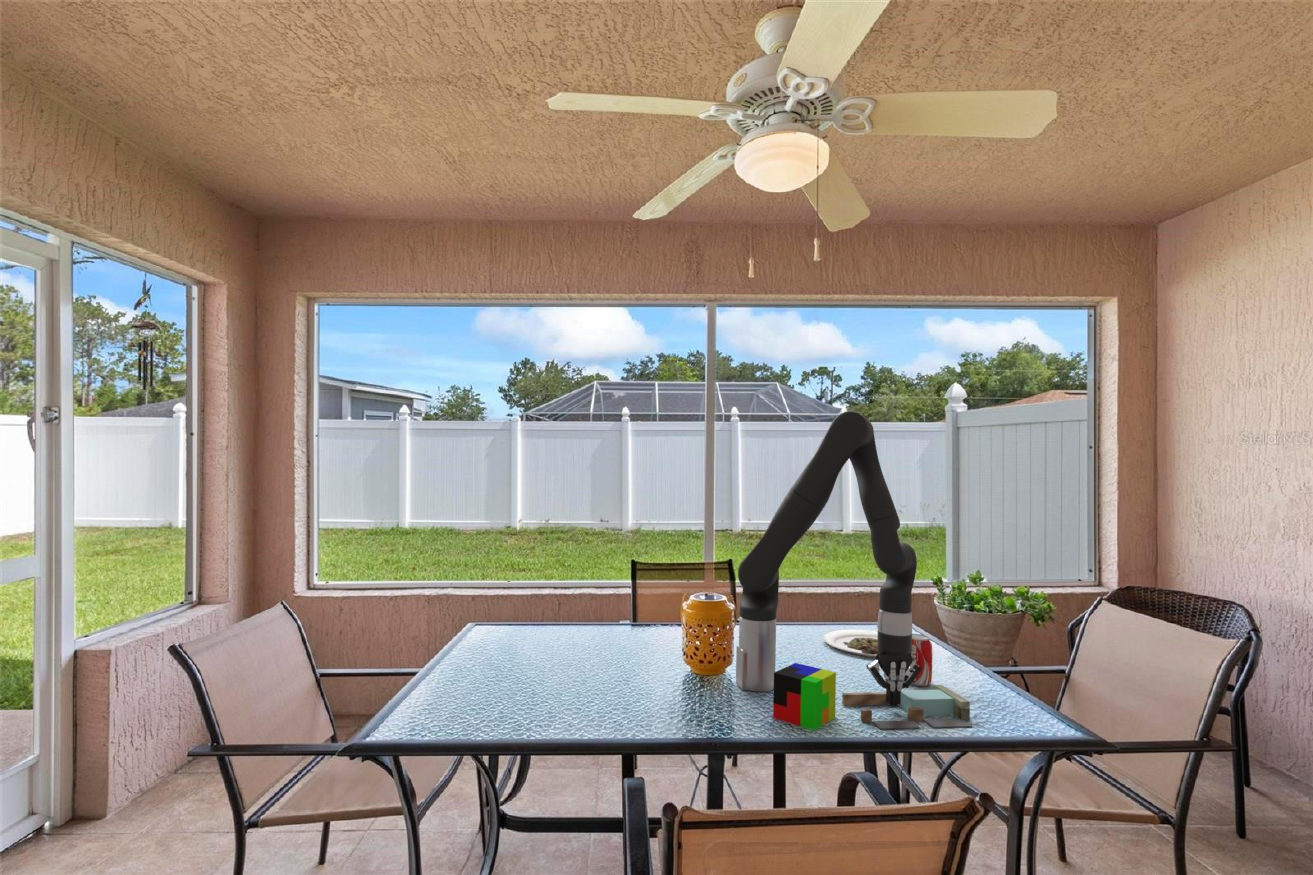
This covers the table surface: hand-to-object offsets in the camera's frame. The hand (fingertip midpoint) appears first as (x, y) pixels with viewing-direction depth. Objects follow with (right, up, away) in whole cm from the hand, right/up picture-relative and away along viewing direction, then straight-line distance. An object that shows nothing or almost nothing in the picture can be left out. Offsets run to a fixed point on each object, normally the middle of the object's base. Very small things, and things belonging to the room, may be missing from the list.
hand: (893, 706), depth 155 cm
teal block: (+8, -2, +1) cm, 8 cm away
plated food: (+13, -4, +55) cm, 56 cm away
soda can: (+13, -2, +20) cm, 25 cm away
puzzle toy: (-22, -1, -5) cm, 22 cm away
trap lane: (+3, -1, -2) cm, 4 cm away
